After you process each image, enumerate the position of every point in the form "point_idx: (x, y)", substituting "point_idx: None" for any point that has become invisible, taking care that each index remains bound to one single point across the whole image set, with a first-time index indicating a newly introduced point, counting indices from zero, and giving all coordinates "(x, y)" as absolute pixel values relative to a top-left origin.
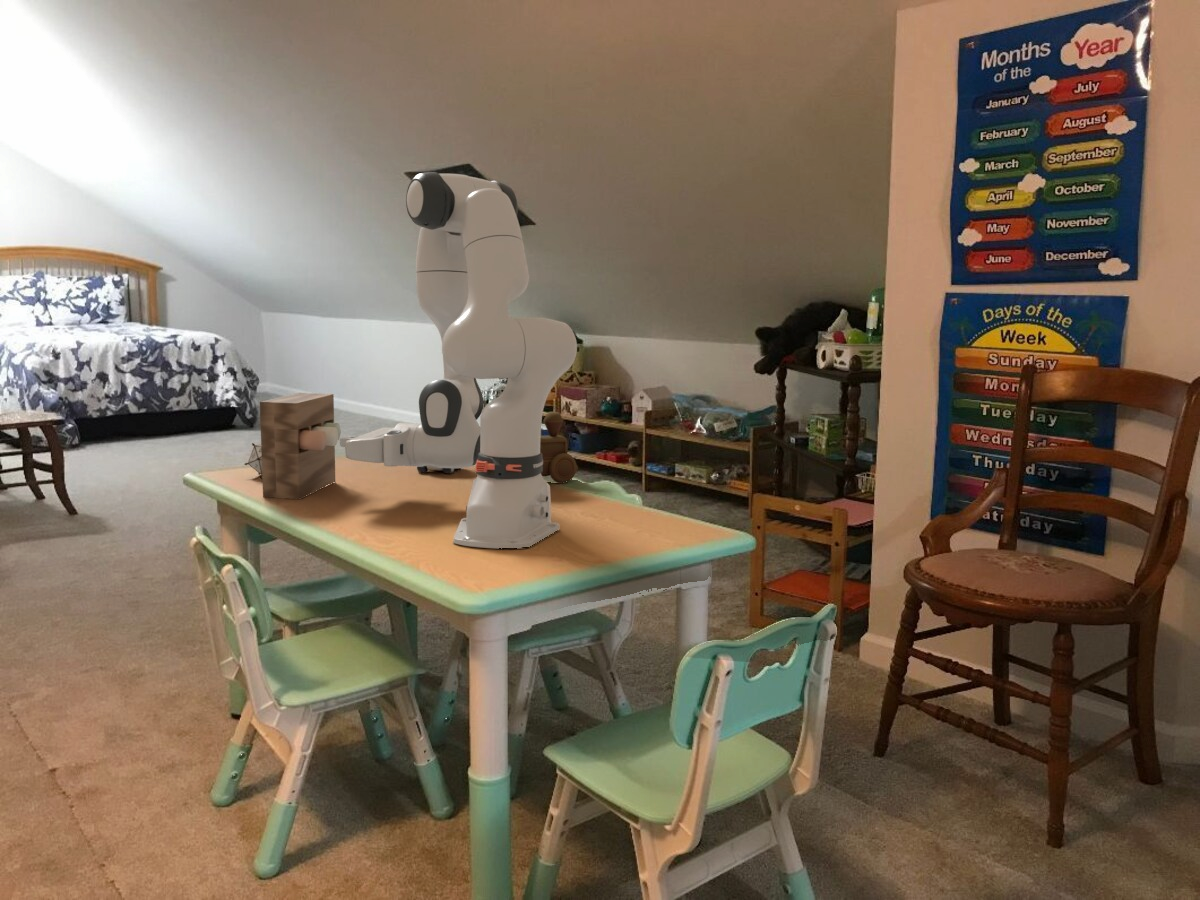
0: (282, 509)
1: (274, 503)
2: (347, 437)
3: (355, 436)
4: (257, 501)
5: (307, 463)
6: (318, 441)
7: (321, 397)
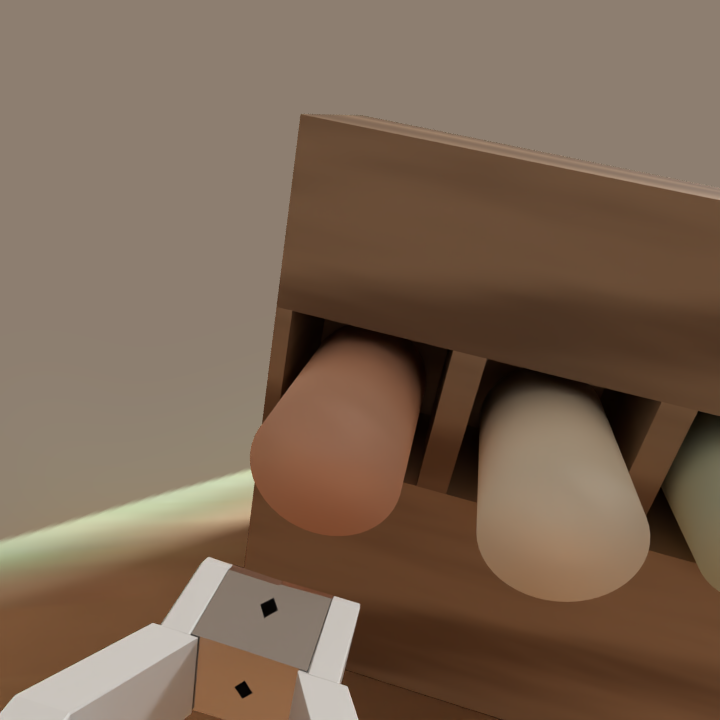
0: (19, 587)
1: (169, 552)
2: (242, 616)
3: (306, 708)
4: (223, 503)
5: (366, 537)
6: (257, 449)
7: None
